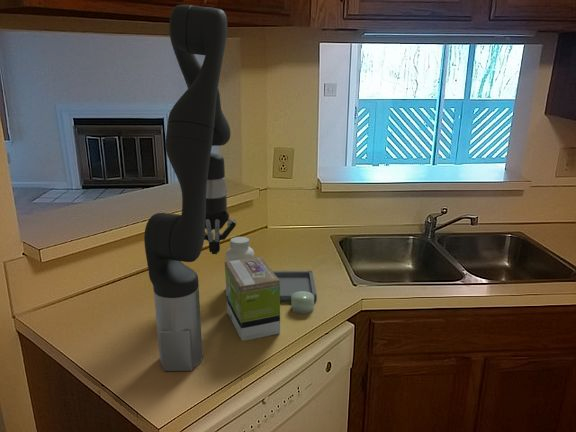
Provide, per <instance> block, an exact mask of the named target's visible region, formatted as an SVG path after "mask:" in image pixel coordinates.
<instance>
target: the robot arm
mask: <svg viewBox="0 0 576 432" xmlns="http://www.w3.org/2000/svg"><path fill="white" fill-rule="evenodd" d="M168 24H169V25H168V27H169V37H170V43H171V46H172V48H173V52H174V54H175V57H176V60H177V63H178V66H179V69H180V72H181V73H182V76H183V79H184V81H185V84H186V87H187V89H186V91H184V93H183V94H182V95H181V96H180V97H179V99H178V100H177V101H176V102H175V104H174V105H173V107H172V109H171V110H170V112H169V115H168V118H167V125H166V133H165V143H164V144H165V147H164V148H165V151H166V155H167V158H168V159H169V160H168V161H169V163H170V165H171V167H172V169H173V171H174V173H175V177H176V178H177V180H178V183H179V187H180V190H181V195H182V196H181V197H182V198H181V201H182V202H181V203H182V206H181V214H178V213H177V214H176V213H175V214H174V213H167V212H158V213H157V212H156V213H155V214H152V216H151V217H150V218H148V221H147V222H146V224H145V228H144V237H143V238H144V250H145V258H146V264H147V271H148V277H149V280H150V282H151V285H152V289H153V297H154V298H153V299H154V309H155V310H154V311H155V320H156V321H155V322H156V333H157V344H158V353H159V354H158V356H159V363H160V366H161V367H162V371H163V372H187V371H188V372H192V371H193V370H194V368H195V367H197V366H198V365H199V364H200V363H201V362H202V361H203V357H204V356H203V355H204V354H203V340H202V325H201V323H202V322H201V306H200V287H199V286H200V285H199V284H200V283H199V276H198V273H197V272H196V271H195V270H194V269H192V268H191V267H189V266H187V265H186V264H184V263H193V262H195V261H196V260H198V258H199V257H200V255H201V253H202V251H203V247H204V244H205V241H207V242H208V248H209V249H208V251H209V252H210V253H211V255H218V253H220V250H221V241H222V240H223V241H224V240H226V238H228V236H229V235H230V233H231V232H233V230H234V228H235V227H236V225H237V221H236V219H232V218H230V215H229V212H228V205H227V203H228V202H227V199H228V198H227V191H228V190H227V182H226V174H225V171H226V170H225V158H224V157H223V156H222V155H221V154H217V153H214V152H212V149H213V148H212V147H214V146H215V147H216V146H218V147H221V146H225V145H226V144H227V143H228V142H229V141H230V138H231V127H230V124H229V123H228V120H227V118H226V116H225V114H224V113H223V111H222V106H221V94H220V90H219V82H220V76H221V71H222V66H223V59H224V54H225V50H226V49H225V48H226V43H227V35H228V18H227V15H226V12H225V11H224V10H223V9H221V8H215V7H211V6H210V7H209V6H208V7H207V6H201V5H200V6H199V5H193V4H177V5H176V6H174V7H173V9H172V10H171V13H170V17H169V23H168ZM196 55H199V56H204V59H203V63H202V64H201V63H200V60H198V58H197V56H196ZM226 223H227V224H226ZM225 224H226V226H227V227H226V228H225V230H224V231H223V232H222V233H221V229H223V227H224V226H225ZM183 262H184V263H183Z"/></svg>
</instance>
